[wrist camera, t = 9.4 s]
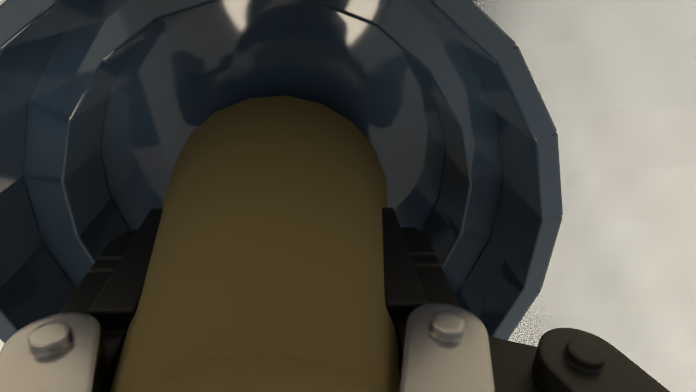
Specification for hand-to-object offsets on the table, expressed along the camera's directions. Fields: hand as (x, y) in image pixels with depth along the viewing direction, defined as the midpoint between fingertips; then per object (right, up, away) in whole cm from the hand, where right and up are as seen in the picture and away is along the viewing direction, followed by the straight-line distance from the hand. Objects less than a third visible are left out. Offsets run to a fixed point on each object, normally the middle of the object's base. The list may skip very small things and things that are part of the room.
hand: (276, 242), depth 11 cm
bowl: (0, +2, +4) cm, 5 cm away
